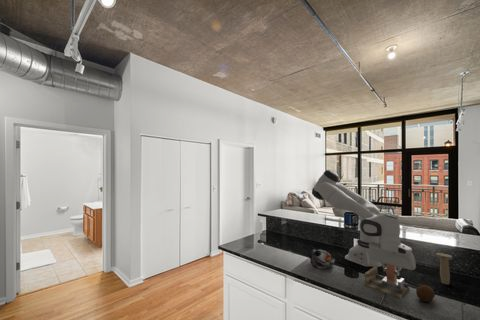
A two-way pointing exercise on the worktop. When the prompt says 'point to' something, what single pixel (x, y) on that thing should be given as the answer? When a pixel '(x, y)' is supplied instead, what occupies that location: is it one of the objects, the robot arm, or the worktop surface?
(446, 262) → the handle
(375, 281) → the frame
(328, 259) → the lucky cat figurine
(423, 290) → the potato
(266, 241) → the worktop surface
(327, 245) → the worktop surface
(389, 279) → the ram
